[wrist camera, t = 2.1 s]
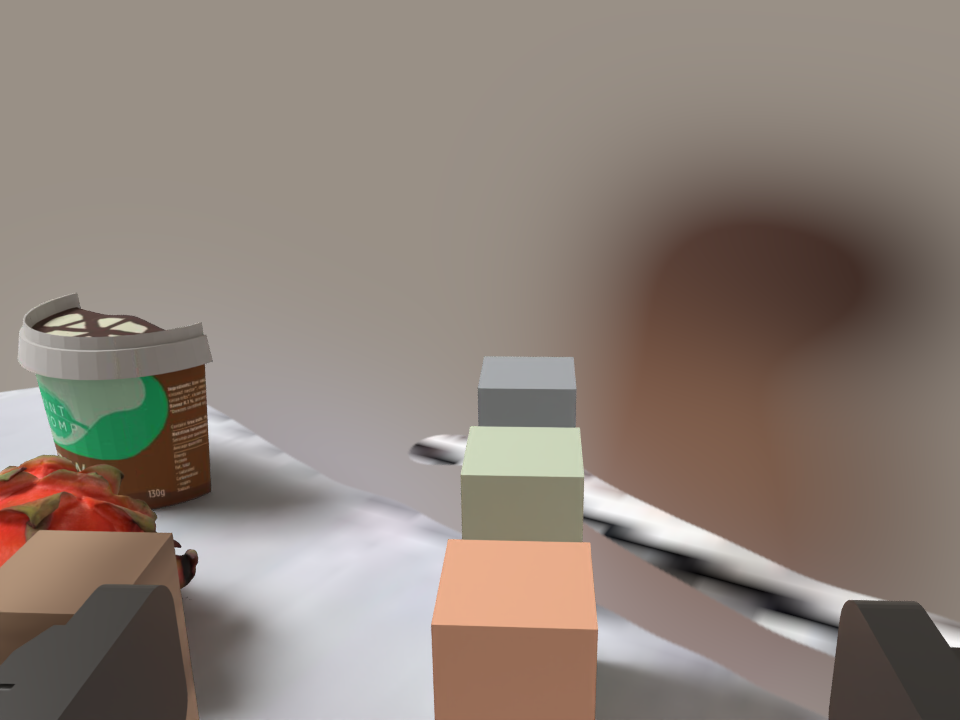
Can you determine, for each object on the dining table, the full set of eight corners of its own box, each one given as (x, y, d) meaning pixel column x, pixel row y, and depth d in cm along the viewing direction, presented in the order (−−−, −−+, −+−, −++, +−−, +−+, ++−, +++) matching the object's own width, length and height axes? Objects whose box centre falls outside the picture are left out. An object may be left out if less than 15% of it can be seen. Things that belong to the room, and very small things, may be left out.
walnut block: (26, 907, 26) (-46, 610, 23) (92, 798, 30) (38, 530, 26) (162, 914, 26) (109, 615, 22) (211, 803, 29) (172, 532, 26)
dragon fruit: (26, 608, 43) (173, 754, 36) (-162, 588, 35) (-21, 765, 29) (115, 447, 43) (275, 561, 37) (-52, 395, 36) (110, 525, 30)
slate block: (481, 598, 40) (478, 388, 37) (487, 550, 44) (484, 356, 41) (571, 600, 40) (576, 389, 37) (569, 552, 44) (573, 357, 40)
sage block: (466, 724, 33) (460, 475, 29) (474, 654, 36) (470, 426, 33) (577, 728, 32) (583, 477, 29) (574, 657, 36) (579, 427, 33)
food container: (0, 484, 51) (-36, 316, 48) (97, 446, 56) (71, 291, 53) (131, 547, 45) (100, 356, 41) (229, 498, 49) (208, 323, 46)
